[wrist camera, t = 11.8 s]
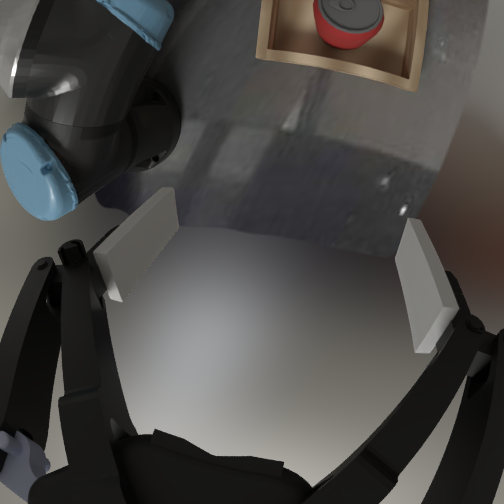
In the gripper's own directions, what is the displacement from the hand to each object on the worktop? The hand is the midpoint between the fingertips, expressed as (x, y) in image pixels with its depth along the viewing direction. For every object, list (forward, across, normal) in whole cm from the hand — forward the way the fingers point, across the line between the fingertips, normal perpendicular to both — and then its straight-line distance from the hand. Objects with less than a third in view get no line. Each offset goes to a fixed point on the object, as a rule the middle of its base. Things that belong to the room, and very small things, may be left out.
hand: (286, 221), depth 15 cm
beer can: (+24, +4, +15) cm, 29 cm away
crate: (+25, +4, +18) cm, 31 cm away
